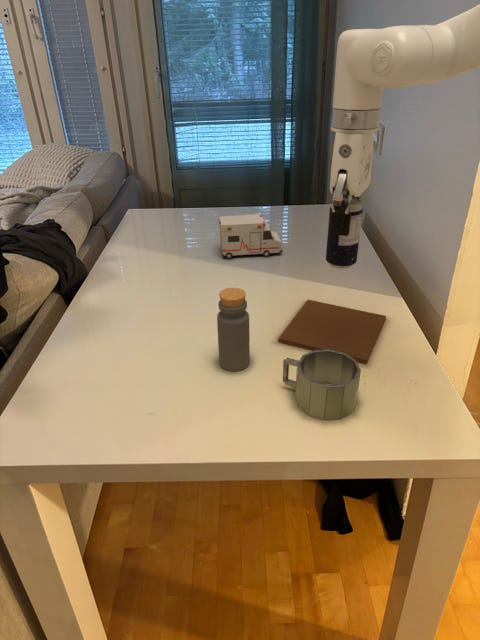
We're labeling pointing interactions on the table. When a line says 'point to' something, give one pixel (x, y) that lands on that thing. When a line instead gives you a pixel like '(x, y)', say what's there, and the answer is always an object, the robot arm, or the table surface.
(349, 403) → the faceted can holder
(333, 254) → the beverage can
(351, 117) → the robot arm
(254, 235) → the toy vehicle
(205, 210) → the table surface
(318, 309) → the mat
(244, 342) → the bottle
